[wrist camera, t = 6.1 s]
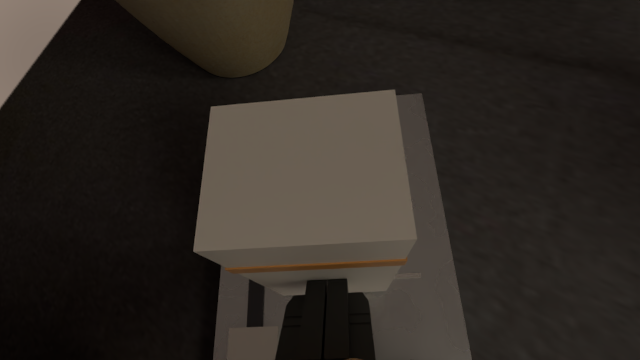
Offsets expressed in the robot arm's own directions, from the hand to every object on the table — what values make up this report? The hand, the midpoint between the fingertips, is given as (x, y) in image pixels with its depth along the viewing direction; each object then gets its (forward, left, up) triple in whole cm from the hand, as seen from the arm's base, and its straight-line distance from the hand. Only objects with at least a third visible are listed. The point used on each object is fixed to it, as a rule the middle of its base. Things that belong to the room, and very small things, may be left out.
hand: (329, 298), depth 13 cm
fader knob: (0, -3, -4) cm, 5 cm away
